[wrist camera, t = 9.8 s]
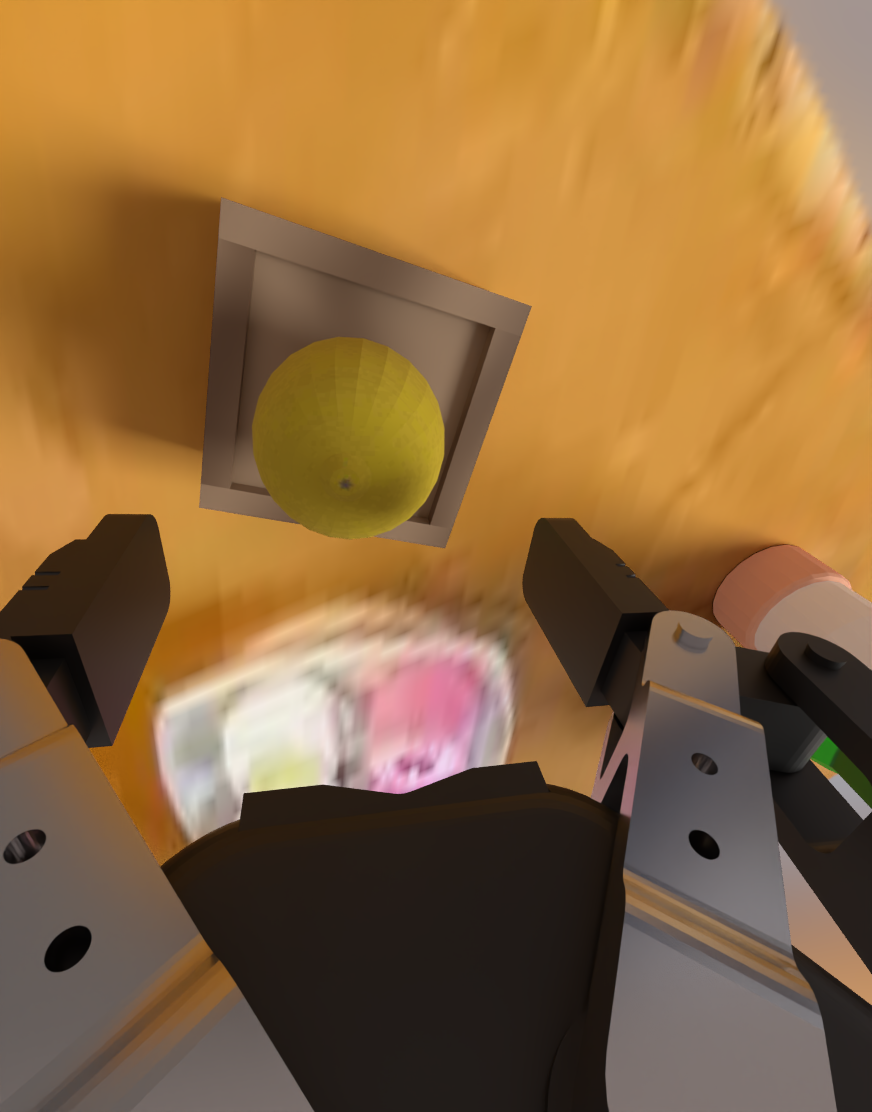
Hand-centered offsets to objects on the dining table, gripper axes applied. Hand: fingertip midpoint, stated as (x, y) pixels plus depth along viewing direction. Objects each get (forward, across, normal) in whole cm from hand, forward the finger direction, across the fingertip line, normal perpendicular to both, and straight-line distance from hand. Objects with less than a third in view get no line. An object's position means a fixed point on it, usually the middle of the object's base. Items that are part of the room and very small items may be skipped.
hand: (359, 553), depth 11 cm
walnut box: (+14, 0, -1) cm, 14 cm away
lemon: (+10, 0, 0) cm, 10 cm away
